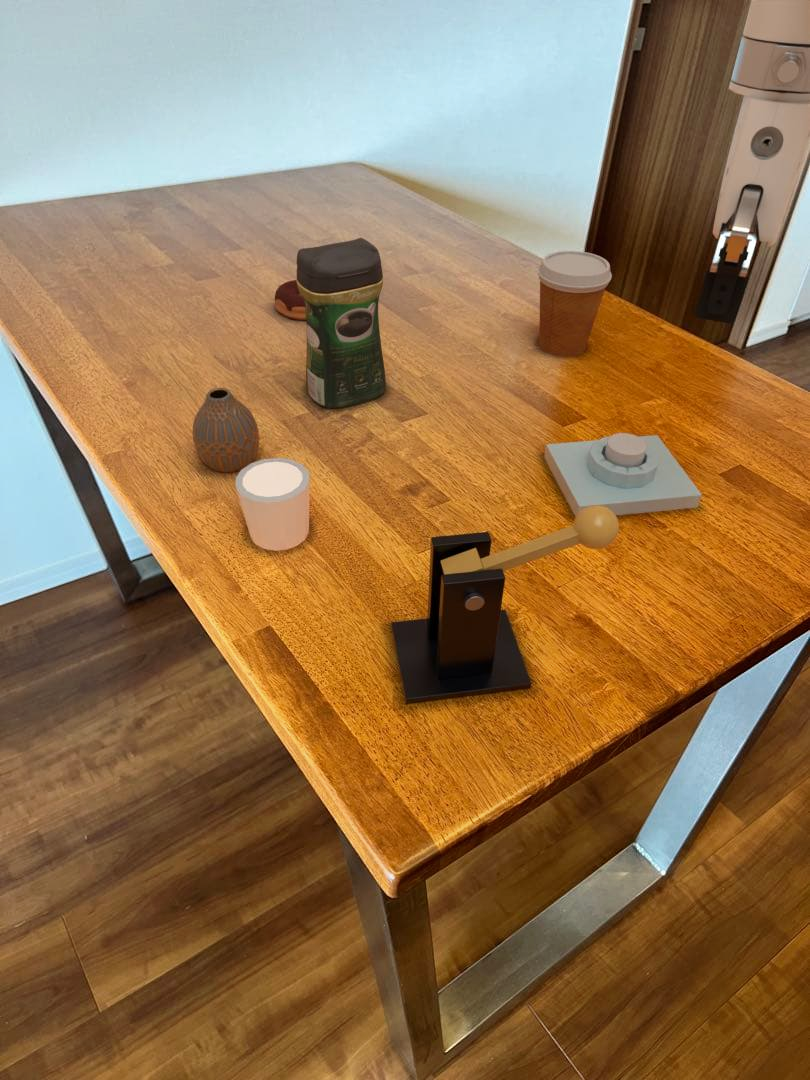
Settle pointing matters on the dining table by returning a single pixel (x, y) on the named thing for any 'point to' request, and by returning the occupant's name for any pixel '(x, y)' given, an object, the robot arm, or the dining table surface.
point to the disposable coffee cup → (570, 299)
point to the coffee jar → (342, 322)
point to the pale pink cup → (275, 502)
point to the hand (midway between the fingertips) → (720, 297)
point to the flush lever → (543, 543)
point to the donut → (290, 301)
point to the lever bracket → (459, 632)
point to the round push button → (625, 450)
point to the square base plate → (620, 478)
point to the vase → (225, 432)
